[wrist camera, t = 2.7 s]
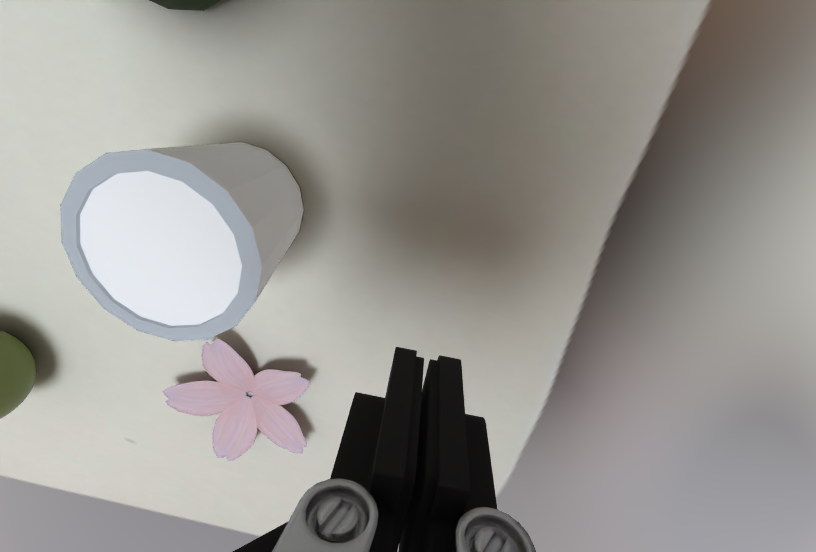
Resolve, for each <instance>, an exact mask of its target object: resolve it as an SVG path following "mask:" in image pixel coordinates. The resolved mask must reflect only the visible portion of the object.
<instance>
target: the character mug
mask: <svg viewBox="0 0 816 552" xmlns="http://www.w3.org/2000/svg"><path fill="white" fill-rule="evenodd" d="M150 1H152V2H154V3H157V4H159V5H161V6H163V7H166V8H168V9H181V10H202V11H204V10H205V9H207V8H209V7H210V6H212V5H213V4H215V3H217V2H218V1H220V0H150Z"/></svg>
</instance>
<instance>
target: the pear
mask: <svg viewBox="0 0 816 552" xmlns="http://www.w3.org/2000/svg"><path fill="white" fill-rule="evenodd" d="M35 378H36V365H35V361H34V359H33V356H32V354H31V353H30V351H29V350H28V348H27V347H26V346H25V345H24V344H23V343H22V342H21V341H19V340H18V339H17V338H15V337H13V336H12V335H10V334H8V333H5V332H3V331H0V418H2V417H4V416H6V415H7V414H9V413H10V412H11V411H13V410H14V409H15V408H16V407H18V406H19V405H20V404H21V403H22V402H23V401H24V399H25V398H26V397H27V395H28V394H29V393H30V391H31V389H32V387H33V385H34V382H35Z"/></svg>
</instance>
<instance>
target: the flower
mask: <svg viewBox="0 0 816 552" xmlns="http://www.w3.org/2000/svg"><path fill="white" fill-rule="evenodd" d="M202 364H203V366H204V369H205V370H206V372H207V373H208V374H209V375H210V376H211V377H213V378H214V379H215V380H217V381H218V382H216V381H194V382H189V383H184V384H179V385H175V386H171V387H169V388H167V389H165V390H164V391H163V393H164V395H165V396H166V397H168V398H169V400H167V401H166V403H167V404H168V405H169V406H170V407H172V408H174V409H176V410H177V411H180V412H183V413H186V414H190V415H196V416H207V415H213V414H217V413H220V414H219V416H218V418H217V420H216V422H215V426H214V430H213V448H214V452H215V454H216V456H217V458H223V457H227V459H228V461H233V460H235V459H237V458H238V457H240V456H241V455H243V454H244V453H245V452H246V451H247V450H249V448H250V447H251V446H252V445H253V443H254V441H255V438H256V434H257V427H258V429H259V430H260V431H261V432H262V433H263V434H264V435H265V436H266V437H267V438H268V439H270V440H271V441H272V442H274V443H275V444H276V445H278V446H280V447H282V448H284V449H287V450H289V451H291V452H294V453H300V454H302V453H303V446H304V447H307V442H306V440H305V438H304V436H303V434H302V431H301V429H300V427H299V425H298V423H297V421H296V420H295V418H294V417H293V416H292V415H291V414H290V413H289V412H288V411H287V410H286V409H284V408H283V407H281V406H280V405H285V404H288V403H291V402H293V401H295V400H296V399H298V398H299V397H300V396H301V395H302V394H303V393H304V392H305V391H306V390H307V389H308V387H309V384H310V381H308V380H306V379H304V378H301V377H300V376H301V374H300V373H298V372H290V371H281V370H273V369H269V370H263V371H261V372H259V373H257V374H256V375H255V376H254V374H253V372H252V370H251V368H250V367H249V366H248V364H247V363H246V362H245V360H244V359H243V358H242V357H240V356H239V355H238V354H237V352H236V351H235V350H234V349H232V348H231V347H230V346H229V345H228V344H227V343H225V342H224V341H222V340H220V339H215V340H214V341H213V343H212V344H210V343H208V342H206V343H205V344H204V345H203V349H202ZM246 392H251V393H252V394H253V395H254V396H252V397H251V398H250V397H248V396H246V395H247V393H246Z"/></svg>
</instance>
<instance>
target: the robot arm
mask: <svg viewBox="0 0 816 552" xmlns="http://www.w3.org/2000/svg"><path fill="white" fill-rule="evenodd" d="M416 354H417V351H415V350H410V349H405V348H400V347H396V349H395V353H394V358H393V363H392V368H391V373H390V378H389V383H388V387H387V392H386V397H385V398H382V397H377V396H372V395H367V394H362V393H357V392H356V393H355V395H354V398H353V402H352V405H351V409H350V412H349V416H348V419H347V423H346V426H345V430H344V433H343V437H342V440H341V443H340V447H339V450H338V454H337V457H336V461H335V464H334V468H333V471H332V475H331V478H330V479H328V480H325V481H322V482H319V483H317V484H315V485H314V486H313V487H311V488H310V489H308V490H307V491H306V493H305V494H304V495H303V497H302V498H301V499H300V501H299V503H298V505H297V507H296V508H295V510H294V512H293V514H292V516H291V518H290V520H289V521H288V522H287V523H285V524H283V525H281V526H279V527H277V528H276V529H274V530H272V531H270V532H268V533H266V534H265V535H263V536H261V537H259V538H257V539H255V540H253V541H252V542H250V543H248V544H246V545H244V546H243V547H241V548H239V549H237V550H235V551H233V552H397V550H398V546H399V552H536V550H535V547H534V545H533V543H532V541H531V539H530V537H529V535H528V533H527V532H526V531H525V529H524V528H523V527H522V526H521V525H520V523H519V522H517V521H516V520H515V519H513V518H512V517H511V516H510V515H508V514H506V513H504V512H502V511H499V510H498V509H497V504H496V497H495V489H494V482H493V474H492V467H491V459H490V452H489V444H488V437H487V429H486V423H485V419H484V418H483V417H478V416H473V415H468V414H465V408H464V394H463V380H462V366H461V360H460V359H455V358H450V357H445V356H439V357H438V360H437V361H436V360H431V359H430V361H429V365H428V369H427V373H426V377H425V381H424V385H423V389H422V381H423V366H424V358H421V357H416Z"/></svg>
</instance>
